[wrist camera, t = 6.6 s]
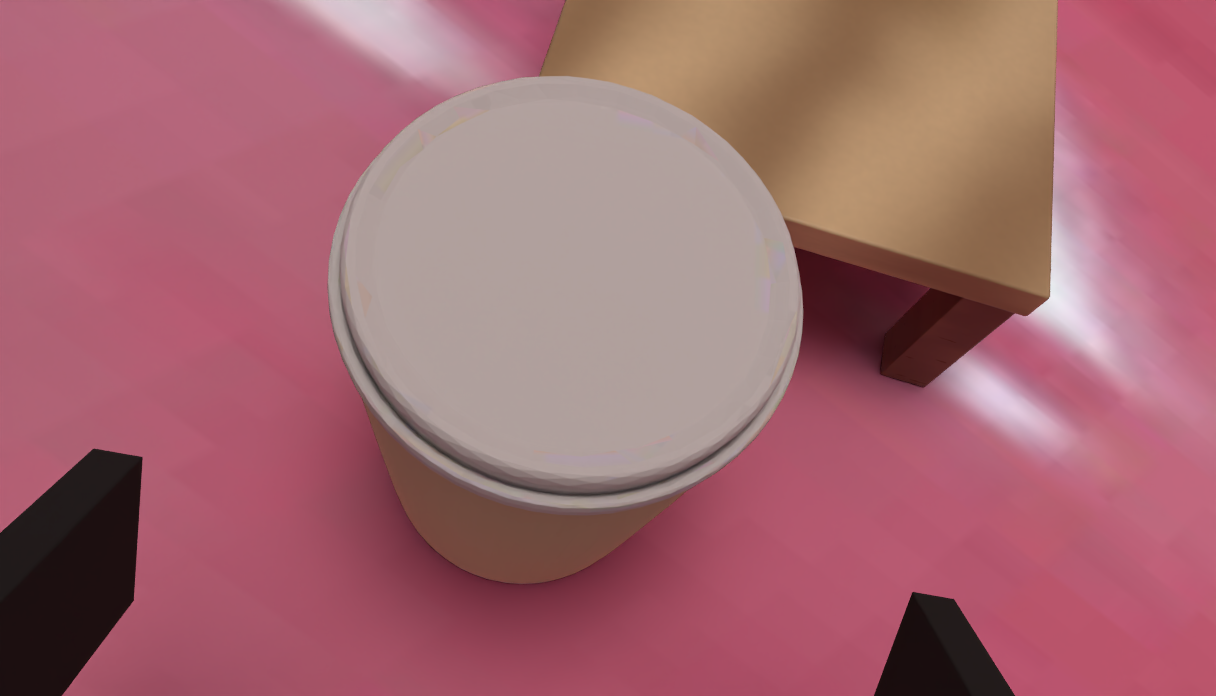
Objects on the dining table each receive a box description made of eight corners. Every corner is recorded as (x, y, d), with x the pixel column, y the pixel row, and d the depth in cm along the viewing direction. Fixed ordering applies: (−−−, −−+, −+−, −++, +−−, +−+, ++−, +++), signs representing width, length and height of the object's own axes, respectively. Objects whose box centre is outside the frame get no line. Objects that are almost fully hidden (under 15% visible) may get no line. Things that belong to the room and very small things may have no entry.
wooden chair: (498, 268, 31) (546, -81, 19) (609, -62, 38) (698, -474, 26) (929, 394, 32) (1250, 140, 20) (960, 48, 39) (1209, -300, 27)
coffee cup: (733, 512, 29) (910, 349, 18) (461, 681, 26) (485, 602, 15) (573, 272, 32) (648, 7, 21) (307, 399, 28) (235, 160, 18)
